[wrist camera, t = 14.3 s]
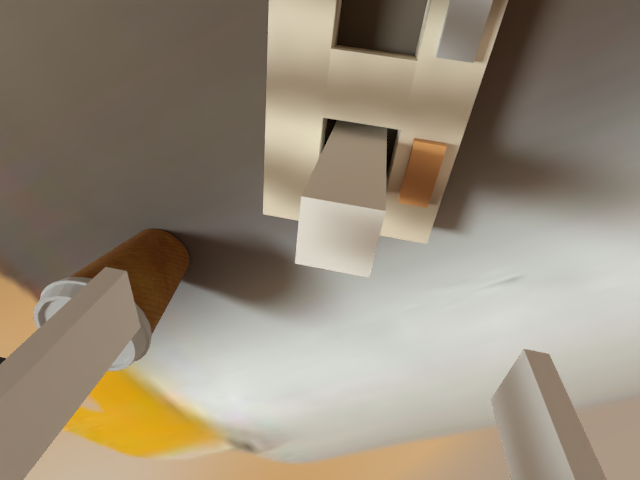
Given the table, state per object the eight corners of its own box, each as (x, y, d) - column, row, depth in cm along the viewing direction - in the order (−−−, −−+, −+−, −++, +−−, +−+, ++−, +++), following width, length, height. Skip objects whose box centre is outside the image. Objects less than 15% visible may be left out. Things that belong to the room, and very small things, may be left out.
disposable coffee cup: (105, 216, 38) (3, 291, 28) (187, 212, 36) (109, 291, 26) (141, 287, 43) (65, 372, 33) (215, 287, 41) (158, 377, 31)
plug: (336, 120, 29) (301, 196, 17) (387, 128, 28) (385, 211, 17) (330, 167, 31) (294, 263, 19) (376, 175, 30) (369, 277, 19)
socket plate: (286, -134, 21) (268, -160, 18) (530, -108, 20) (556, -130, 17) (272, 198, 33) (260, 218, 30) (423, 225, 32) (427, 249, 29)
